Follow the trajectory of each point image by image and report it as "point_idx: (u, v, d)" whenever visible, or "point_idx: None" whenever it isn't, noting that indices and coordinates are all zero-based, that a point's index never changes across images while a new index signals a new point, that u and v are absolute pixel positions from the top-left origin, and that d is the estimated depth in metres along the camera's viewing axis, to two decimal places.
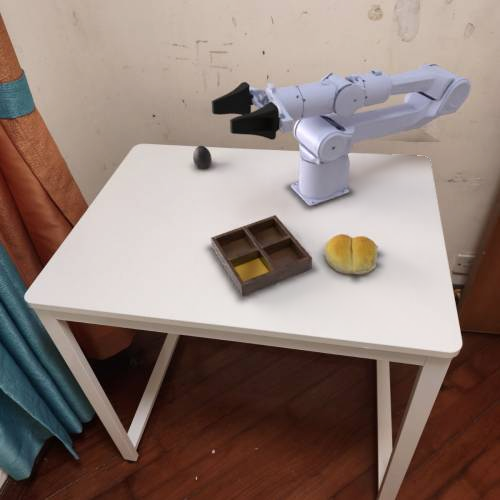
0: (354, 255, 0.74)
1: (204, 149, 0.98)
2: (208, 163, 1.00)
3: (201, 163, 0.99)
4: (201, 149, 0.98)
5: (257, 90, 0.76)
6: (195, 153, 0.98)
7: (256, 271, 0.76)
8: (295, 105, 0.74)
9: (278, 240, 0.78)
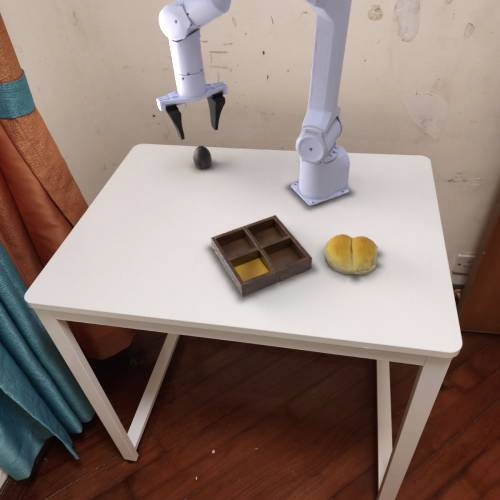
0: (354, 255, 0.74)
1: (204, 149, 0.98)
2: (208, 163, 1.00)
3: (201, 163, 0.99)
4: (201, 149, 0.98)
5: None
6: (195, 153, 0.98)
7: (256, 271, 0.76)
8: None
9: (278, 240, 0.78)
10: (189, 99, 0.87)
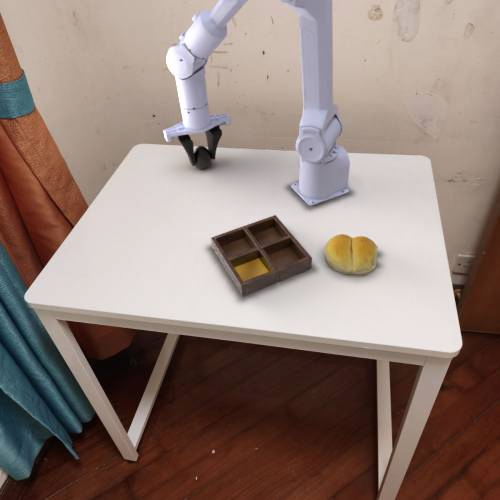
0: (354, 255, 0.74)
1: (204, 149, 0.98)
2: (208, 163, 1.00)
3: (201, 163, 0.99)
4: (201, 149, 0.98)
5: (212, 118, 0.97)
6: (195, 153, 0.98)
7: (256, 271, 0.76)
8: (181, 111, 0.92)
9: (278, 240, 0.78)
10: (194, 131, 0.92)
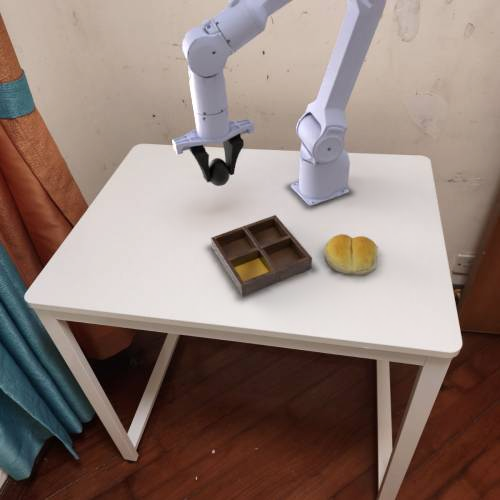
0: (354, 255, 0.74)
1: (221, 162, 0.81)
2: (226, 179, 0.82)
3: (217, 179, 0.82)
4: (218, 162, 0.81)
5: (231, 125, 0.80)
6: (210, 167, 0.81)
7: (256, 271, 0.76)
8: None
9: (278, 240, 0.78)
10: (210, 141, 0.75)
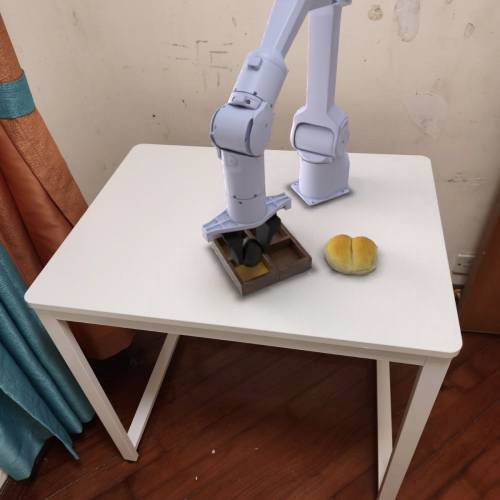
0: (354, 255, 0.74)
1: (254, 243, 0.70)
2: (259, 260, 0.72)
3: (250, 262, 0.71)
4: (251, 243, 0.70)
5: None
6: (242, 249, 0.70)
7: (256, 271, 0.76)
8: (226, 198, 0.64)
9: (278, 240, 0.78)
10: (246, 226, 0.64)
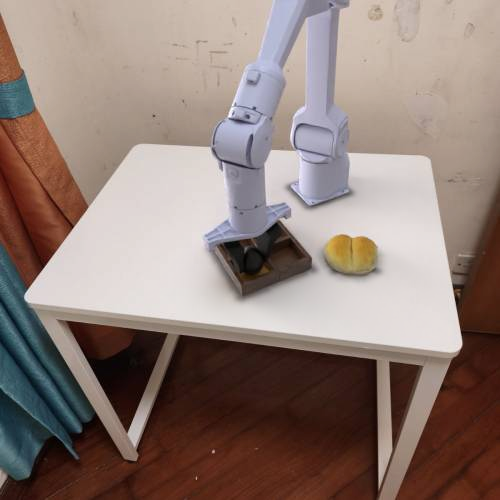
0: (354, 255, 0.74)
1: (255, 251, 0.72)
2: (260, 268, 0.73)
3: (251, 270, 0.72)
4: (252, 252, 0.71)
5: None
6: (243, 257, 0.72)
7: None
8: None
9: (278, 240, 0.78)
10: (247, 236, 0.66)
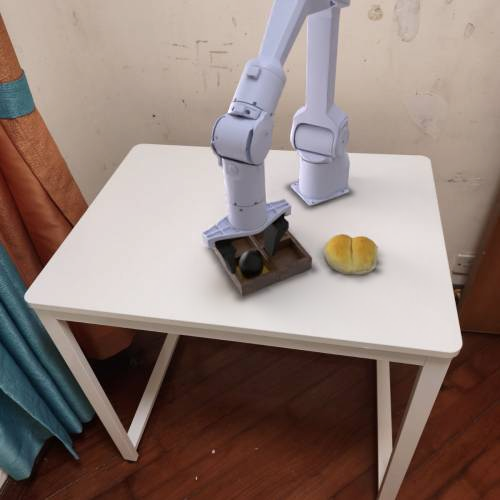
0: (355, 255, 0.74)
1: (255, 255, 0.72)
2: (260, 272, 0.74)
3: (252, 273, 0.73)
4: (252, 256, 0.72)
5: None
6: (243, 261, 0.72)
7: None
8: (227, 205, 0.65)
9: None
10: (247, 233, 0.65)
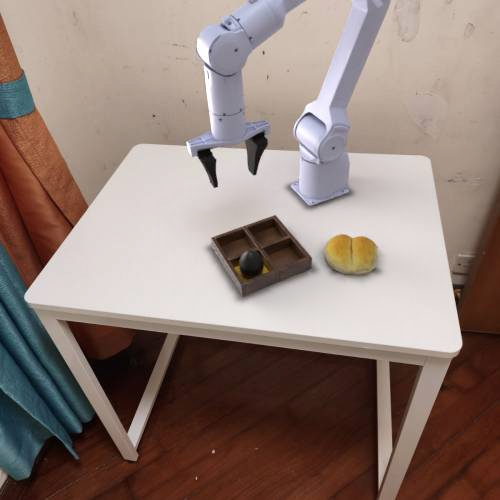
0: (354, 255, 0.74)
1: (255, 255, 0.72)
2: (260, 272, 0.74)
3: (252, 273, 0.73)
4: (252, 256, 0.72)
5: (246, 126, 0.77)
6: (243, 261, 0.72)
7: None
8: (210, 117, 0.72)
9: (278, 240, 0.78)
10: (226, 143, 0.72)
